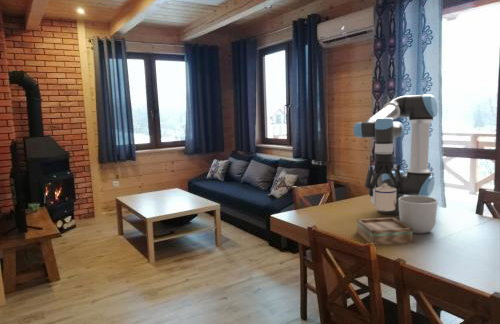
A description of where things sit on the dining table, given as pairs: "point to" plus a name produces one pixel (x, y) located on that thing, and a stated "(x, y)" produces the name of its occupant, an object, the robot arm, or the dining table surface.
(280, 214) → the dining table surface
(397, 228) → the brown wooden box
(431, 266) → the dining table surface
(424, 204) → the planter
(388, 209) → the teacup with lid
